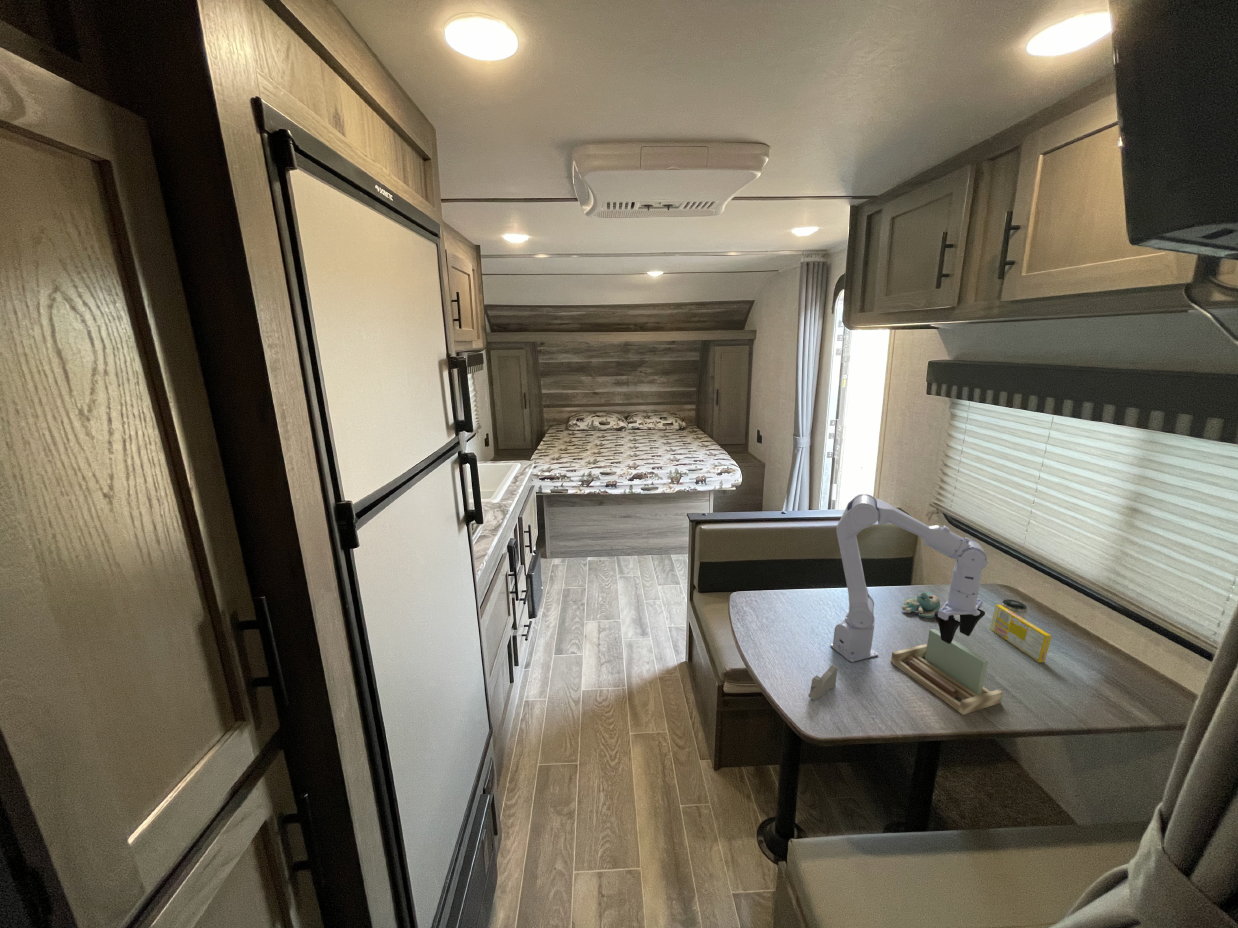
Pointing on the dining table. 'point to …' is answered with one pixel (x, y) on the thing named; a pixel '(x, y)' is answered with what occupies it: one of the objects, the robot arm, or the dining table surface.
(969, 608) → the robot arm
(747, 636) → the dining table surface
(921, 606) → the stuffed animal
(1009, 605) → the dark lidded jar
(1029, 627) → the candy box
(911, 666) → the offcut stack
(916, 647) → the offcut rack
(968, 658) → the large sage green box
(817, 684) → the beige angular flat piece
